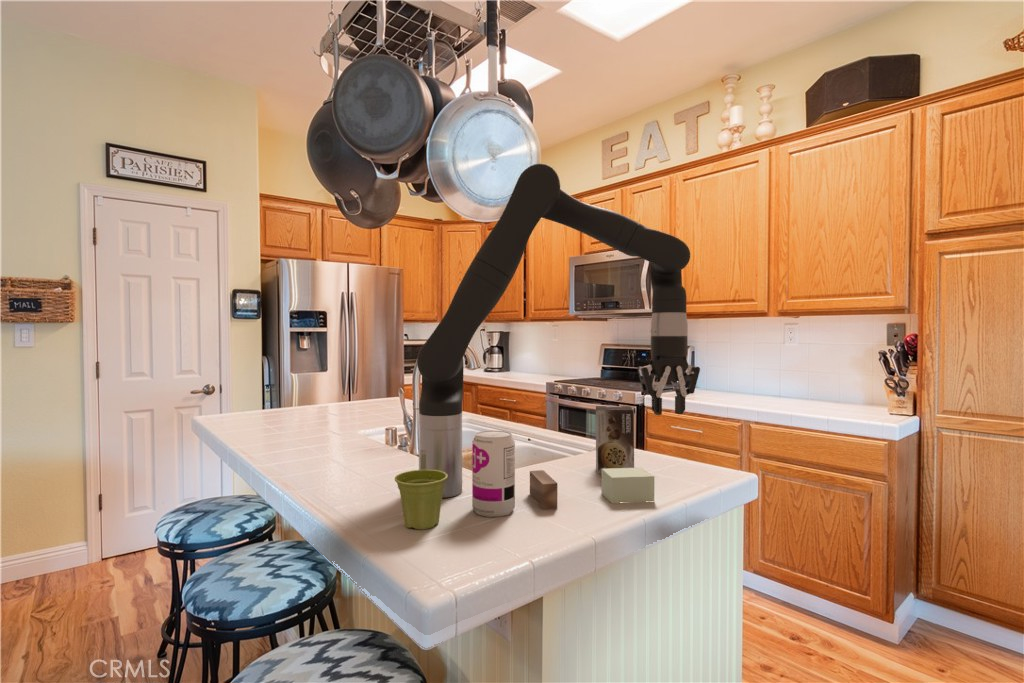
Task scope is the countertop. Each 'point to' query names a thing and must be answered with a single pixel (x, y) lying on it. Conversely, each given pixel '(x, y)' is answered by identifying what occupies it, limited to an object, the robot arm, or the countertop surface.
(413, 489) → the plant pot
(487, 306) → the robot arm
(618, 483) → the block
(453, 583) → the countertop surface
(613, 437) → the coffee box
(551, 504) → the brown wooden block
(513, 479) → the supplement can
